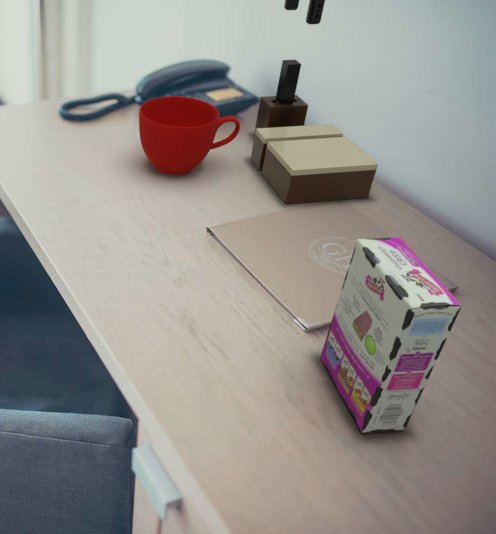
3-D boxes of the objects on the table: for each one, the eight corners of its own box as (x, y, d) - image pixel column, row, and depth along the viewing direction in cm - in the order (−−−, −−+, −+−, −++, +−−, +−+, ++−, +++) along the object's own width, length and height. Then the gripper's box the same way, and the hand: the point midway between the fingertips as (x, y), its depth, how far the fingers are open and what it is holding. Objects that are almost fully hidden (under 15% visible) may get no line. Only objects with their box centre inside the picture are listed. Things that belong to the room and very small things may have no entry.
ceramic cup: (242, 183, 105) (252, 126, 100) (140, 185, 104) (144, 128, 98) (225, 148, 116) (232, 95, 110) (131, 150, 115) (134, 96, 109)
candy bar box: (408, 431, 64) (466, 305, 55) (361, 435, 64) (411, 309, 54) (359, 354, 73) (402, 234, 64) (317, 356, 73) (354, 236, 63)
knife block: (288, 132, 122) (296, 94, 118) (299, 144, 118) (308, 105, 114) (253, 134, 121) (260, 96, 116) (263, 146, 117) (271, 107, 112)
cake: (338, 168, 110) (347, 136, 107) (368, 197, 102) (378, 164, 99) (261, 174, 108) (267, 141, 105) (285, 204, 100) (292, 170, 97)
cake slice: (324, 154, 114) (332, 123, 111) (335, 165, 111) (343, 133, 108) (250, 159, 112) (255, 128, 109) (258, 170, 109) (264, 138, 106)
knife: (281, 136, 121) (297, 59, 112) (286, 141, 119) (303, 64, 110) (266, 137, 120) (281, 60, 112) (271, 142, 118) (286, 64, 110)
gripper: (370, -89, 92) (342, 28, 101) (325, -102, 103) (303, 4, 113) (321, -88, 91) (297, 29, 100) (281, -102, 102) (263, 5, 111)
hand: (301, 16), depth 106 cm, fingers open, 8 cm apart
